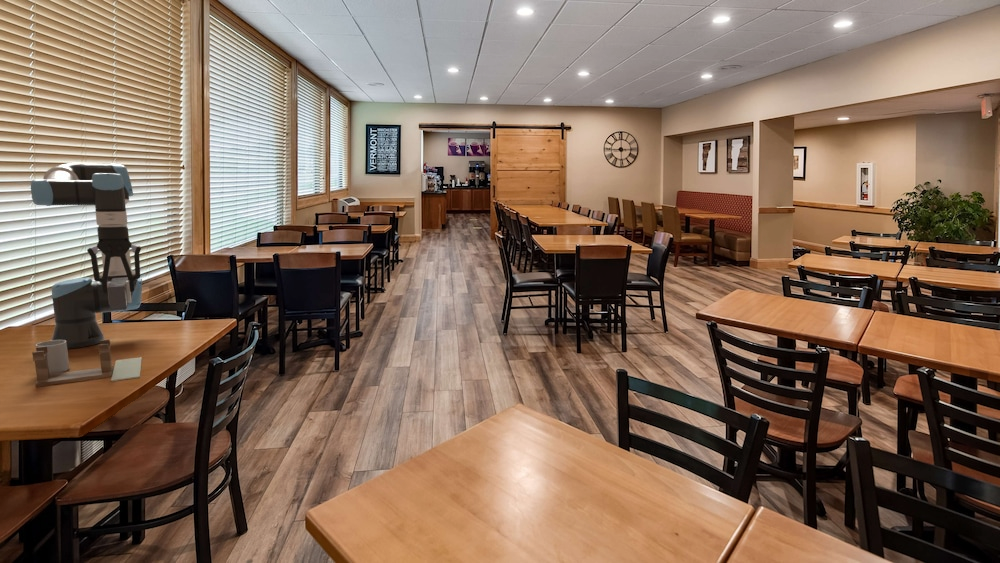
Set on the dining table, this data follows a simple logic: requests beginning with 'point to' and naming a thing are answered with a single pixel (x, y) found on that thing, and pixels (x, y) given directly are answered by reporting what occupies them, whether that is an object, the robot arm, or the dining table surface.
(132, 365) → the mat
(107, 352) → the stand
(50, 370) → the cup
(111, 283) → the rail
